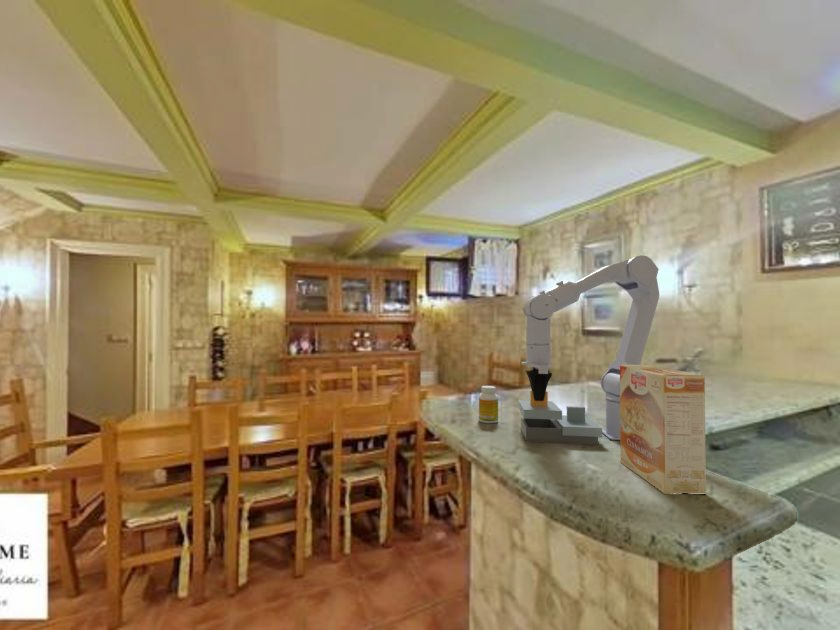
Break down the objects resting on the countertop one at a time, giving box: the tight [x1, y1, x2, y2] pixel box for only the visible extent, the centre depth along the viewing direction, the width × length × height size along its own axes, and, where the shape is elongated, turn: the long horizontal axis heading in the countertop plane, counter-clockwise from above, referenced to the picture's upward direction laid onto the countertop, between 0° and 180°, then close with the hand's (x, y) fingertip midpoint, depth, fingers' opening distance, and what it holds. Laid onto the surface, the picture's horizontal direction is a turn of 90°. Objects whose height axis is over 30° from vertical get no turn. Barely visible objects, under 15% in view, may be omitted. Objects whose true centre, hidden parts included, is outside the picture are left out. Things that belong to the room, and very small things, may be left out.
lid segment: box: [555, 405, 603, 438], centre depth 94 cm, size 9×11×5 cm
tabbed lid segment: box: [517, 390, 563, 420], centre depth 95 cm, size 8×11×5 cm
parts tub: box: [520, 417, 599, 446], centre depth 95 cm, size 16×10×3 cm, turn 82°
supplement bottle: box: [478, 385, 499, 424], centre depth 110 cm, size 5×5×10 cm
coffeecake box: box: [619, 364, 707, 495], centre depth 70 cm, size 15×7×20 cm, turn 178°
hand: (538, 399), depth 95 cm, fingers closed on tabbed lid segment
